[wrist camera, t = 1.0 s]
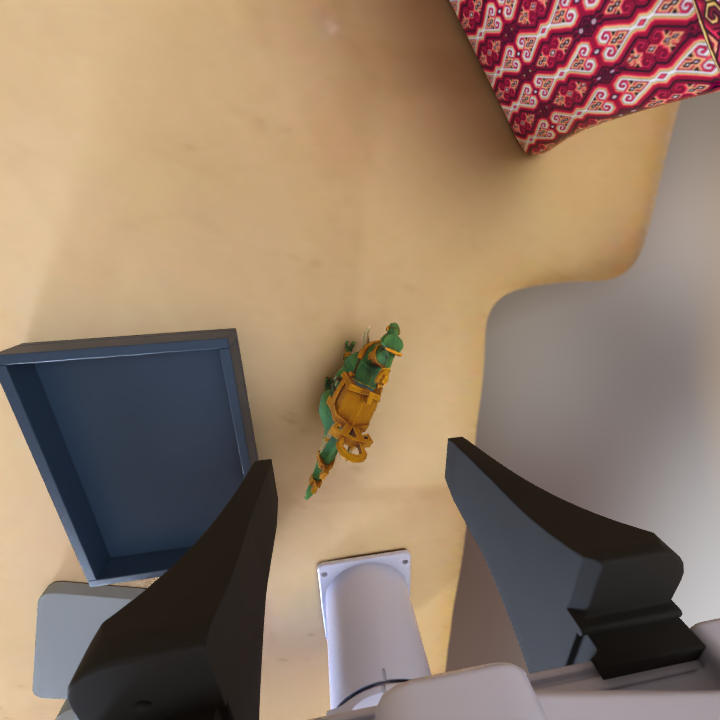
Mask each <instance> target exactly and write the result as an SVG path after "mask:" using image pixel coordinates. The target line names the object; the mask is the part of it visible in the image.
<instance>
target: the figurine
mask: <svg viewBox="0 0 720 720" xmlns="http://www.w3.org/2000/svg"><path fill="white" fill-rule="evenodd" d="M369 329H370V327H369V328H367V329H366V331H365V333H364V337H363V346H362V349H361V350H360V351H359V352H356V353H354V354H352V353H351V352H352V349H353V347H354V346H355V342H352V343H351V345H350V346H349V347H348V341H347V342H346V353H345V354H344V358H343V360H344V365H343V367H342V368H341V369H340V370H339V371H338V372H337V373H336V375H335V377H334V379H332V378H331V379H330V380H329V383H328V379H329V378H328V377H326V380H325V381H326V382H325V391H324V392H323V394H322V395H321V401H320V406H319V414H320V417H321V420H322V423H323V425H324V428H325V433H324V440H323V443H322V446H321V449H320V450H319V451H318V453H317V463H316V466H315V469H314V472H313V474H312V475H311V477H310V480H309V486H308V489H307V492H306V496H305V499H306V500H308V499H309V498H310V497H311V496H312V495H313V493H316V491H317V488H318V487H319V488H320V486H321V484H322V479H323V480H324V479H325V478H326V476H327V475H328V473H329V471H330V469H331V468H332V467H333V464H334V461H335V457H336V455H337V452H338V451H339V453H340V455H341V456H342V457H343V458H344V459H345V460H346V463H347V461H350V462H354V463H359V462H364V460H365V459H366V457H367V453H366V451H365V449H364V448H365V447H370V446H371V444H372V443H373V441H372V439H371V437H370V436H369V434H364V436H363V435H362V432H365V431H366V429H367V428H368V426H369V421H370V420H371V418H372V415H373V413H374V411H375V409H376V406H377V404H378V402H379V401H380V397H381V393H382V389H383V387H381V386H383V385H386V383H387V382H388V377H389V372H390V371H391V370H390V367H391V364H392V361H393V358H394V356H395V355H397V356H402V354H401V353H399V352H400V351H401V350H402V349H403V342H402V340H401V339H400V338H399V337H398V335H399V334H400V329H399V326H398V324H396V323H391V324H390V325H389V326H387V328H386V330H387V331H388V333H386V334H385V335H384V336H383V337H382V338H381V340H378V341H373V342H369ZM384 367H385V368H384ZM343 444H346V445H348V446H349V447H348V450H346V449H345V448H344V446H343ZM354 447H358V450H359V455H355V454H352V453H351V452H352V450H353V449H354Z"/></svg>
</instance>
